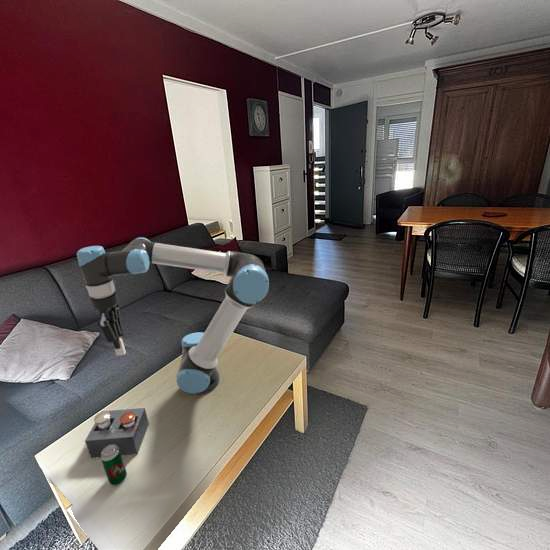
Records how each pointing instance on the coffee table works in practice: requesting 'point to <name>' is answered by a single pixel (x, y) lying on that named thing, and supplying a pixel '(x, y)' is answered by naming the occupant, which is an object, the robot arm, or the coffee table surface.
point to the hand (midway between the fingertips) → (121, 353)
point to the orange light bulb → (128, 420)
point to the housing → (118, 434)
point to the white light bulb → (103, 420)
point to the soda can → (113, 464)
